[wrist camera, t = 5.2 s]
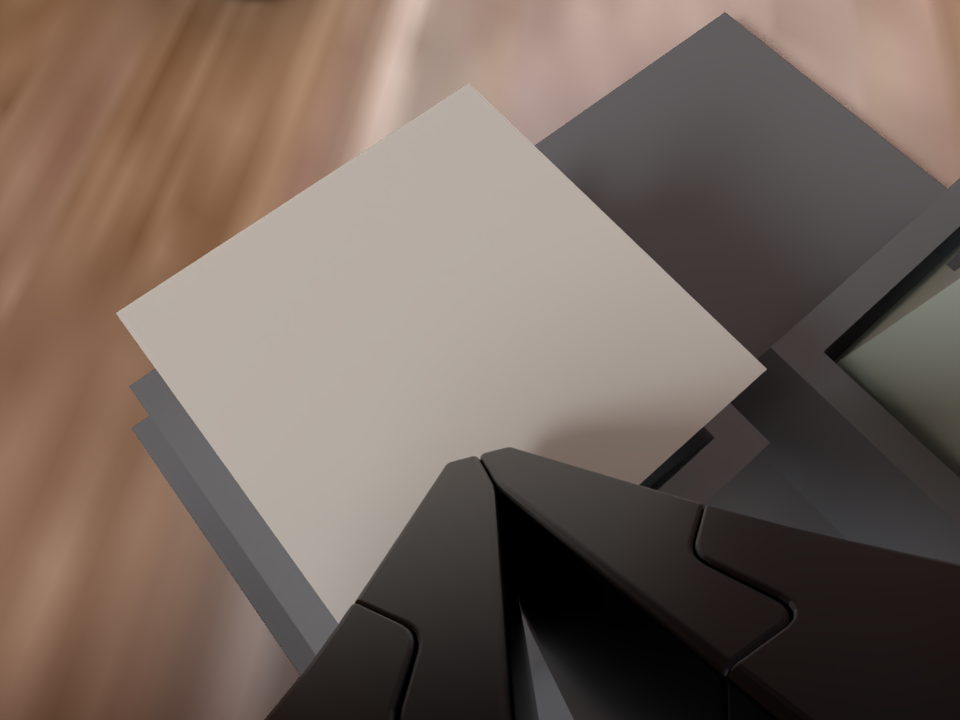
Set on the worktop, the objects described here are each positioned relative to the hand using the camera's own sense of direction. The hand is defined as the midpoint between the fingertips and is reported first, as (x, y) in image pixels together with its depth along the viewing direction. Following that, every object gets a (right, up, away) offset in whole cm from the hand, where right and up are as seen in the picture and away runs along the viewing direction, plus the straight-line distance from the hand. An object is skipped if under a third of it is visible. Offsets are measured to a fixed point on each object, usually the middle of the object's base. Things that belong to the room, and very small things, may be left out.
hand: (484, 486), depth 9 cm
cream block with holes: (-1, 0, +7) cm, 7 cm away
